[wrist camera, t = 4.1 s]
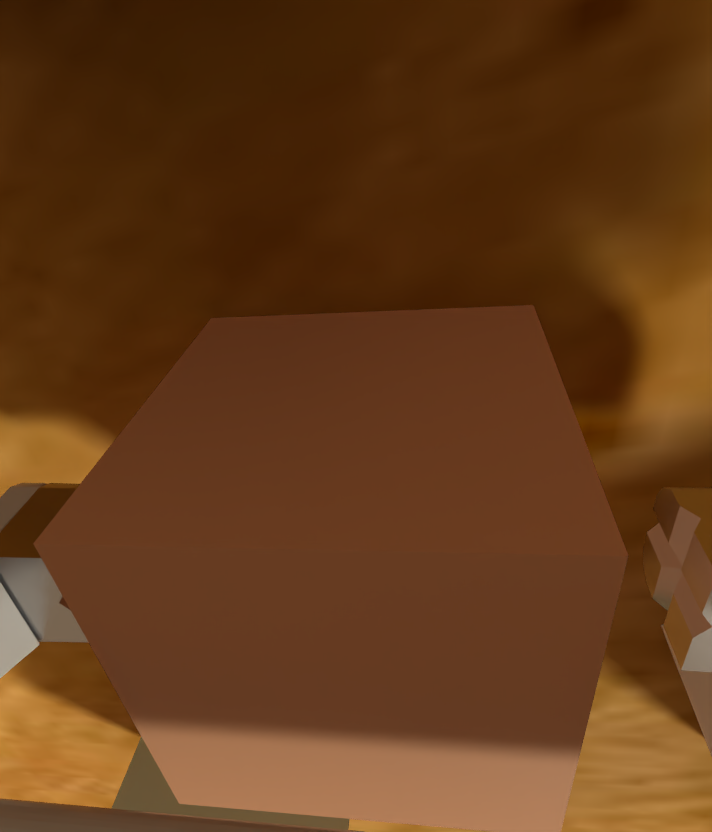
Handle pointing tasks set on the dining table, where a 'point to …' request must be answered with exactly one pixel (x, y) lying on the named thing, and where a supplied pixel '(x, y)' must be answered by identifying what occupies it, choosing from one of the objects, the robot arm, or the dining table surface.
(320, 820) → the sage green cube
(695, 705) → the off-white cube
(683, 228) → the dining table surface
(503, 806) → the terracotta cube
